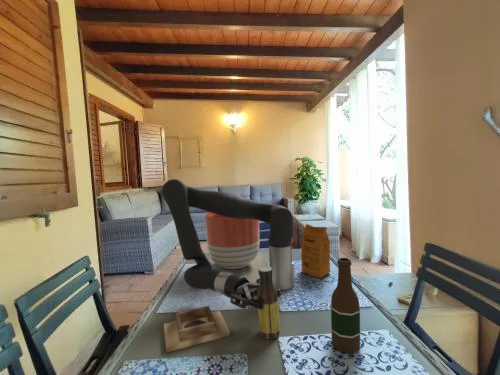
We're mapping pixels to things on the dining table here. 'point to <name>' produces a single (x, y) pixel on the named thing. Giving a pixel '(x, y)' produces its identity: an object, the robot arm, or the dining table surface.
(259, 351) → the dining table surface
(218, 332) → the socket board
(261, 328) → the sauce bottle
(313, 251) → the coffee package
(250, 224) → the planter
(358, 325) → the beer bottle
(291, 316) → the dining table surface
